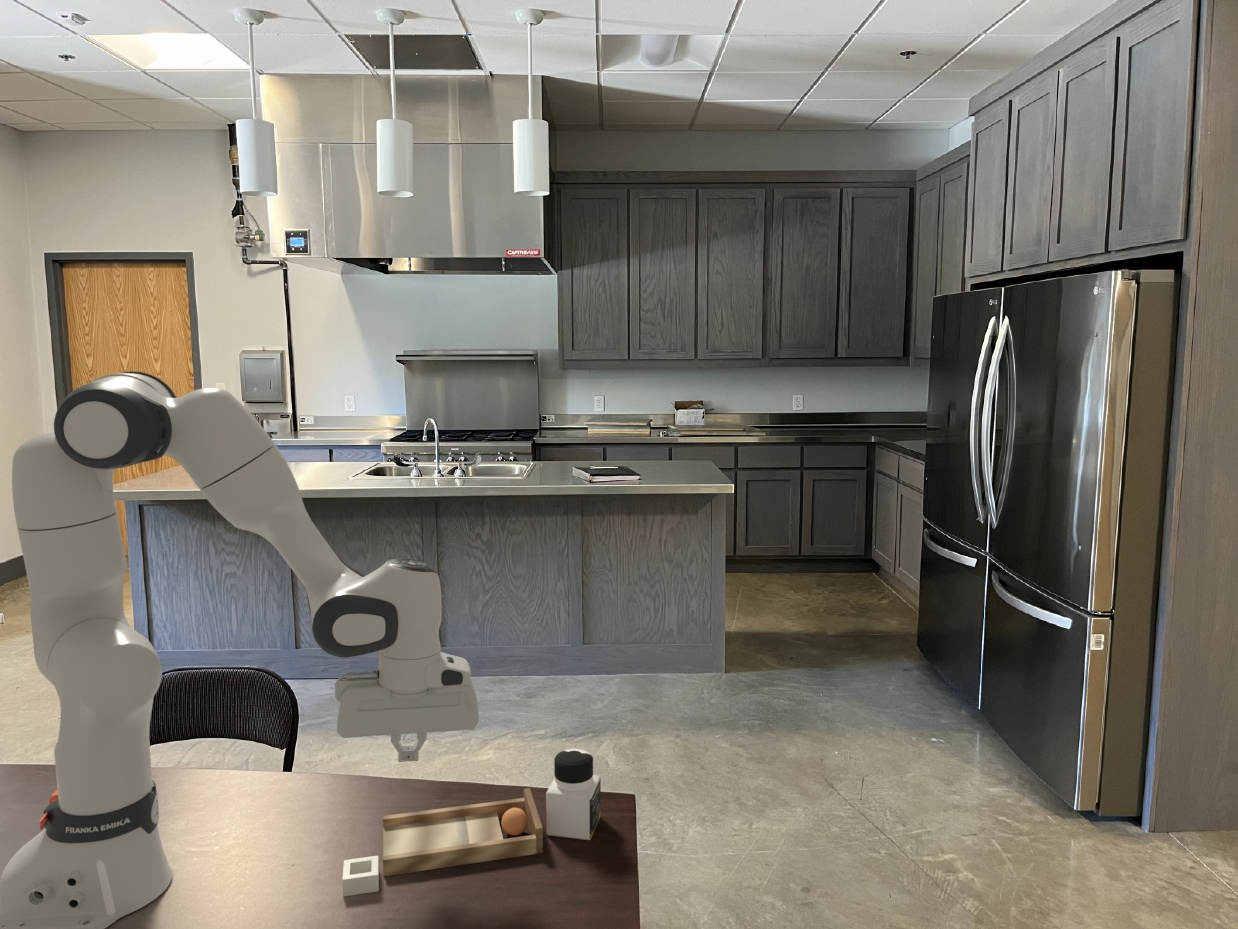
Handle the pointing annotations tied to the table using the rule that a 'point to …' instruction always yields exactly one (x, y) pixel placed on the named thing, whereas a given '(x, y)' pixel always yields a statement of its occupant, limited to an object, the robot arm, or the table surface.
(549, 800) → the medicine bottle
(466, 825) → the lane
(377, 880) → the square ring
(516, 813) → the ball
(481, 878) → the table surface
